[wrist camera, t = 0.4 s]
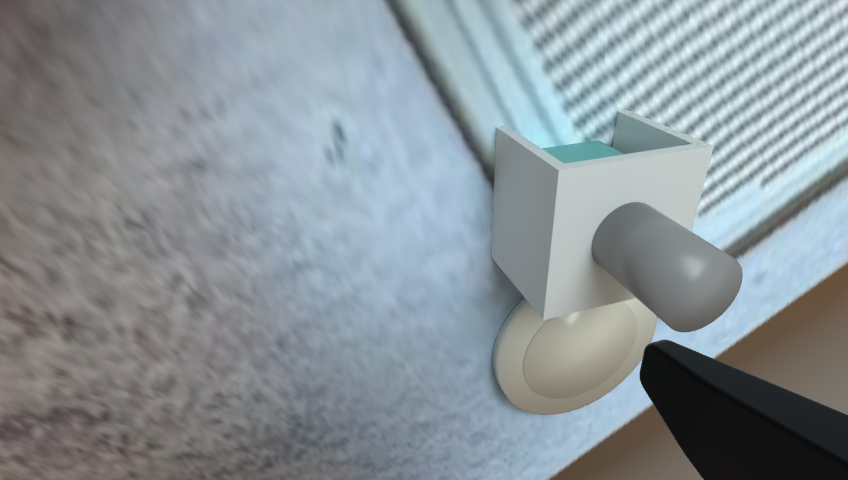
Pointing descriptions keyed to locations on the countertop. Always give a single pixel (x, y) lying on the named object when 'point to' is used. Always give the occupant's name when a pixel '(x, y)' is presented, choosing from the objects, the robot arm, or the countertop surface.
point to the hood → (611, 226)
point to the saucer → (569, 354)
